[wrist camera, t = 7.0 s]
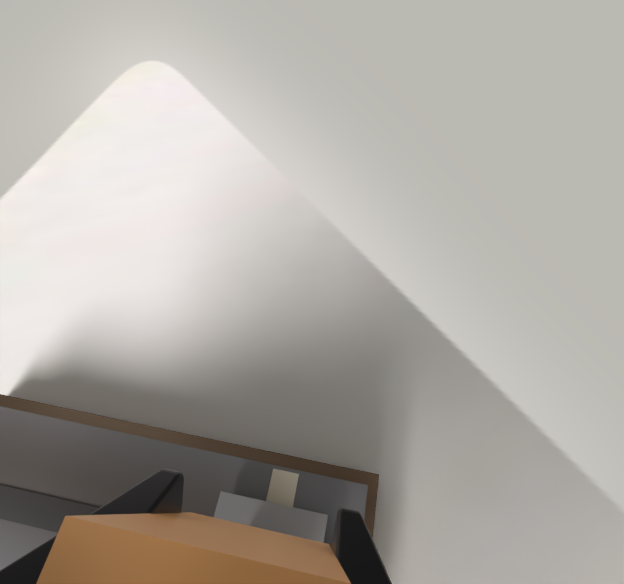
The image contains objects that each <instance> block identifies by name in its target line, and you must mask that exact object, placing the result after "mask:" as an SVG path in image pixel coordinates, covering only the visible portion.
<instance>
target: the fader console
mask: <svg viewBox="0 0 624 584" xmlns="http://www.w3.org/2000/svg"><path fill="white" fill-rule="evenodd" d="M162 469H170V470H174V471H179V472H181V473H182V474H183V476H184V487H183V504H182V510H181V513H183V512H192V513H196V514H201V515H205V516H209V517H214V514H215V510H216V506H217V503H218V499H219V496H220V492H221V491H222V492H227V493H231V494H236V495H240V496H245V497H249V498H253V499H258V500H262V501H267V502H271V503H276V504H280V505H285V506H289V507H294V508H298V509H303V510H307V511H312V512H316V513H321V514H325V515H328V518H327V525H326V531H325V538H324V543H327V544H329V545H330V547H331V541H332V536H333V531H334V526H335V521H336V516H337V512H338V509H339V508H341V507H343V508H347V509H352V510H356V511H359V512H360V513H361V515H362V517H363V519H364V521H365V524H366V526H367V528H368V530H369V533H370V535H371V537H372V536H373V526H374V517H375V507H376V498H377V488H378V478H379V475H378V474H373V473H369V472H364V471H359V470H354V469H350V468H345V467H340V466H336V465H331V464H326V463H321V462H317V461H312V460H307V459H303V458H298V457H293V456H288V455H284V454H279V453H274V452H270V451H265V450H260V449H255V448H251V447H246V446H241V445H237V444H232V443H227V442H222V441H218V440H213V439H208V438H204V437H199V436H194V435H189V434H185V433H180V432H175V431H171V430H166V429H161V428H156V427H152V426H147V425H142V424H138V423H133V422H128V421H123V420H119V419H114V418H109V417H104V416H100V415H95V414H90V413H86V412H81V411H76V410H71V409H67V408H62V407H57V406H53V405H48V404H43V403H38V402H34V401H29V400H24V399H20V398H15V397H10V396H5V395H1V394H0V570H1V569H3V568H5V567H6V566H8V565H9V564H11V563H13V562H14V561H16V560H17V559H19V558H21V557H22V556H24V555H25V554H27V553H28V552H30V551H32V550H33V549H35V548H36V547H38V546H40V545H41V544H43V543H44V542H46V541H48V540H49V539H51V538H52V537H54V536H56V535H57V534H58V532H59V530H60V527H61V525H62V523H63V520H64V518H65V516H74V515H89V514H91V513H92V512H94V511H95V510H97V509H99V508H100V507H102V506H103V505H105V504H107V503H108V502H110V501H111V500H113V499H115V498H116V497H118V496H119V495H121V494H123V493H124V492H126V491H127V490H129V489H131V488H132V487H134V486H135V485H137V484H139V483H140V482H142V481H143V480H145V479H147V478H148V477H150V476H151V475H153V474H155V473H156V472H158V471H159V470H162Z"/></svg>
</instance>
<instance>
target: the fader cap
mask: <svg viewBox="0 0 624 584" xmlns="http://www.w3.org/2000/svg"><path fill="white" fill-rule="evenodd" d="M327 518H328V515H325V514H321V513H316V512H312V511H307V510H303V509H298V508H294V507H289V506H285V505H280V504H276V503H271V502H267V501H262V500H258V499H253V498H249V497H245V496H240V495H236V494H231V493H227V492H222V491H221V492H220V496H219V499H218V503H217V506H216V510H215V514H214V517H209V516H205V515H201V514H196V513H192V512H183V513H158V514H150V513H147V514H111V515H74V516H65V518H64V520H63V523H62V525H61V527H60V530H59V532H58V534H57V536H56V539H55V541H54V543H53V546H52V548H51V550H50V553H49V555H48V557H47V560H46V562H45V564H44V567H43V569H42V571H41V574H40V576H39V578H38V581H37V583H36V584H351V583H350V581H349V579H348V577H347V576H346V574H345V572H344V570H343V568H342V567H341V565H340V563H339V561H338V559H337V558H336V556H335V554H334V553H333V551H332V549H331V547H330V545H329V544H327V543H324V538H325V531H326V525H327Z"/></svg>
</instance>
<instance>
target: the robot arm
mask: <svg viewBox="0 0 624 584" xmlns="http://www.w3.org/2000/svg"><path fill="white" fill-rule="evenodd" d="M183 487H184V476H183V474H182V473H181V472H179V471H174V470H170V469H162V470H159V471H158V472H156V473H155V474H153V475H151V476H150V477H148V478H147V479H145V480H143V481H142V482H140V483H139V484H137V485H135V486H134V487H132V488H131V489H129V490H127V491H126V492H124V493H123V494H121V495H119V496H118V497H116V498H115V499H113V500H111V501H110V502H108V503H107V504H105V505H103V506H102V507H100V508H99V509H97V510H95V511H94V512H92V513H91V514H89V515H111V514H147V513H150V514H158V513H181V510H182V504H183ZM56 536H57V535H56ZM56 536H54V537H52V538H51V539H49V540H48V541H46V542H44V543H43V544H41V545H40V546H38V547H36V548H35V549H33V550H32V551H30V552H28V553H27V554H25V555H24V556H22V557H21V558H19V559H17V560H16V561H14V562H13V563H11V564H9V565H8V566H6V567H5V568H3V569H1V570H0V584H36V583H37V581H38V578H39V576H40V574H41V571H42V569H43V567H44V564H45V562H46V560H47V557H48V555H49V553H50V550H51V548H52V546H53V543H54V541H55V539H56ZM331 549H332V551H333V553H334V554H335V556H336V558H337V559H338V561H339V563H340V565H341V567H342V568H343V570H344V572H345V574H346V576H347V577H348V579H349V581H350V583H351V584H392V583H391V581H390V578H389V576H388V574H387V571H386V569H385V567H384V565H383V562H382V560H381V558H380V555H379V553H378V551H377V549H376V546H375V544H374V542H373V540H372V537H371V535H370V533H369V530H368V528H367V526H366V524H365V521H364V519H363V517H362V515H361V513H360V512H359V511H356V510H352V509H347V508H343V507H341V508H339V509H338V512H337V516H336V521H335V526H334V531H333V536H332V541H331Z"/></svg>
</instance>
